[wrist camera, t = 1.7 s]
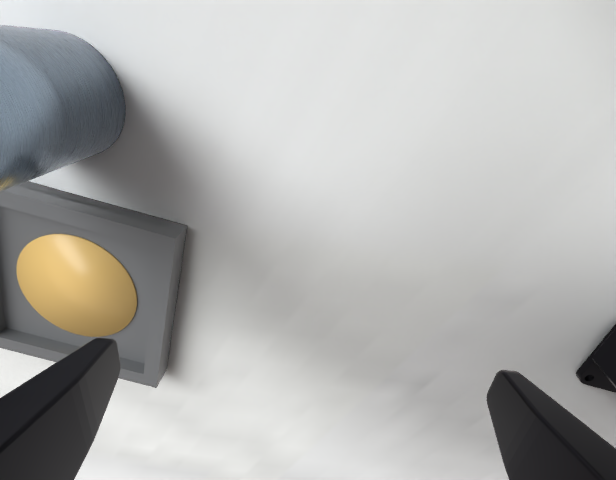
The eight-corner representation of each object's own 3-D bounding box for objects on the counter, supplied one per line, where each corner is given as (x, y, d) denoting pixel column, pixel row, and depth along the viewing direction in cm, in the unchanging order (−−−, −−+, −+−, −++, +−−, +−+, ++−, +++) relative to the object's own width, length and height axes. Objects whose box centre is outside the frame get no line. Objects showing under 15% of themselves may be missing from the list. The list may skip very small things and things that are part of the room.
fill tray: (187, 225, 20) (175, 238, 19) (166, 368, 25) (156, 387, 24) (-16, 169, 20) (-44, 177, 18) (2, 326, 25) (-18, 343, 23)
